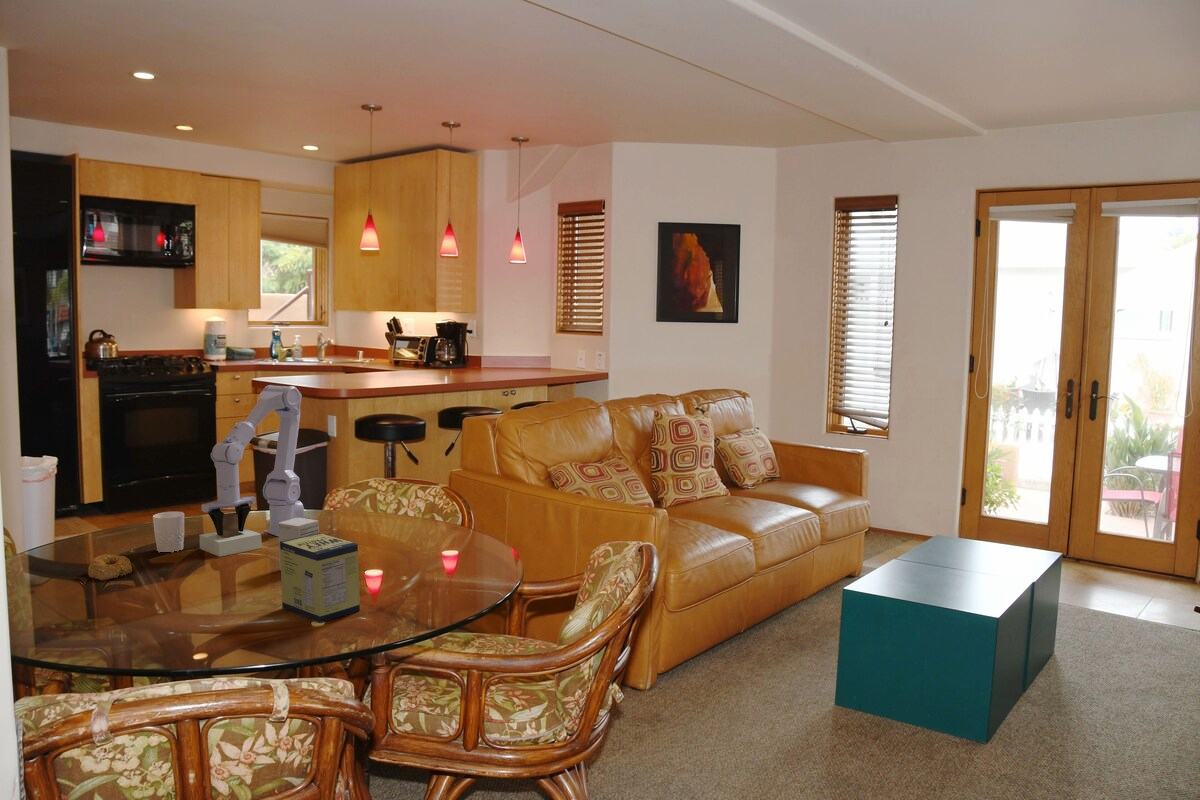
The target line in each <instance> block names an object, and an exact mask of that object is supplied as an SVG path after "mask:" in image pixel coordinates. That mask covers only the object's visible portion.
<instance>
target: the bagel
mask: <svg viewBox="0 0 1200 800" xmlns="http://www.w3.org/2000/svg"><path fill="white" fill-rule="evenodd" d="M87 572H88V573H87V575H88V576H89V577H90V578H91V579H95V580H99V581H107V580H112V579H113V578H114V579H118V578H119V577H123V575H125V576H127V575H129V574H131V573H132V572H133V566H132V562H131V561H130V559H129V558H128V557H126V556H125V555H124V556H123V555H116V554H106V553H105V554H101V555H98V556H96V557H94V558H93V559H91V561H90V564H89V565H88V571H87ZM128 573H129V574H128ZM126 574H127V575H126ZM118 576H119V577H118ZM114 579H113V580H114Z"/></svg>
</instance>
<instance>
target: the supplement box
mask: <svg viewBox="0 0 1200 800" xmlns="http://www.w3.org/2000/svg"><path fill="white" fill-rule="evenodd" d="M319 525H320V522H319V520H318V519H317V520H316V519H310V518H305V517H304V518H299V517H298V518H293V519H290V520H287V521H283V522H280V523H278V532H279V536H278V555H279V556H278V560H279V561H278V562H279V563H278V565H279V571H281V558H280V541H285V540H290V539H295V538H299V537H304V536H308V535H313V534H317V533H320V528H319V527H320V526H319Z"/></svg>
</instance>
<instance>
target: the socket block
mask: <svg viewBox="0 0 1200 800" xmlns="http://www.w3.org/2000/svg"><path fill="white" fill-rule="evenodd" d="M238 533H239V536H233V537H228V538H224V537H223V535H222V536H219V535H217V532H216V531H214V532H208V533H202V534H199V549H200V550H202V551H205V552H207V553H210V554H211V555H214V556H217V557H219V558H221V557H225V556H230V555H235V554H241V553H245V552H249V551H254V550H259V549H262V548H263V546H262V545H263V544H262V543H263V542H262V533H259V532H256V531H253V530H251V529H247V528H245V527H244V530H243V532H240V531H238Z"/></svg>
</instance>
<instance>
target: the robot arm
mask: <svg viewBox="0 0 1200 800" xmlns="http://www.w3.org/2000/svg"><path fill="white" fill-rule="evenodd" d="M302 396H303V394H302V393H301V391H299V389H298V388H297V387H296V386H294V385H289V386H284V385H282V386H281V385H272V384H269V385H266V386H265V387H264V388H263V389H262V391H261V392H260V393H259V400H258V401H257V403H255V405H254V407H253V408H252V409H251V411H250V413H249V414H248V415H247V416H246V419H245V420H244V421H239V422H237V423H235V424H233V428H232V429H231V430H230V432H229V433H228V434H227V435H226V436H225V437H224V438H223V440H222V441H220V442H217V443H216V444H215V445H214V446H213V447H212V451H211V453H210V459H211V460H212V462H213V463H214V468H215V469H216V491H217V492H216V493H217V494H216V495H217V500H215V501H212V502H211V501H210V502H207V503H202V504H201V512H204V513H207V515H208V516H209V517H210V519H211V521H212V523H213V525H214V528H215V532H217V535H219V536H222V535H223V515H224V514H225V512H224V511H223V512H222V510H223V509H229V508H234V510H235V513H237V514H238V531H240V532H243V530H244V528H245V524H246V520H247V518H248V515H249V513H250V512H251V510H252V506H251V505H255V504H256V497H255V496H253V495H251V496H243V497H241V494H240V491H241V490H240V477H239V476H240V471H239V463H240V461H242V459H243V457H244V451H245V449H246V447H247V445H248V444H249V443H250V442H251V441H252V439H253V438H254V437H255V436H256V428H257V427H258V425H259V424H261V422H263V420H264V419H265V418H266V417H267V416H268V415H269V414H271V412H272V411H273V412H275V413H276V414H277V415H278V416H279V418H280V420H279V421H280V422H279V429H278V438H277V444H276V445H277V446H276V450H275V451H276V452H275V461H274V468H273V470H271V472H270V473H268V474H267V476H266V480H265V483H264V484H263V487H262V495H263V498H264V499H265V500H267V501H266V502H267V504H268V505H269V526H270V527H269V528H270V529H265V530H264V532H265V533H267V534H270V535H273V536H276V537H279V532H278V523H280V522H283V521H287V520H290V519H293V518H298V517H299V518H305V508H304V504H303V503H302V502H301V500H298V499H299V498H300V496H301V487H300V482H301V481H300V477H299V476H298V475H297V474H296V473H295V472H294V470H295V469H294V467H295V459H296V452H297V445H298V444H297V443H298V439H299V438H298V437H299V428H300V422H301V421H300V420H301V403H302Z"/></svg>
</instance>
